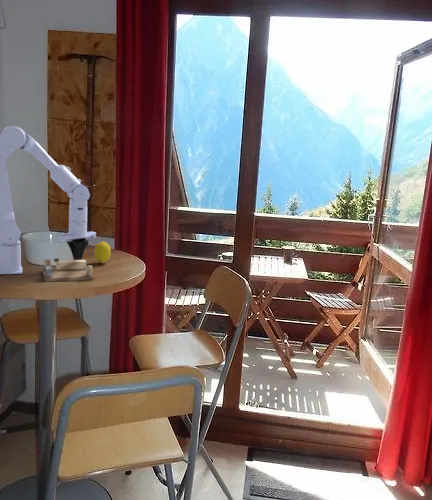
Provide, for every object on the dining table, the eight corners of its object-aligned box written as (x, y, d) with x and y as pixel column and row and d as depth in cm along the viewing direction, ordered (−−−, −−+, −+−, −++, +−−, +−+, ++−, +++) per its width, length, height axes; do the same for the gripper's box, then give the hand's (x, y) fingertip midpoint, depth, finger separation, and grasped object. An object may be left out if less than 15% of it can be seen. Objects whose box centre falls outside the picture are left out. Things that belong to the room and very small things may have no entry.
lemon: (106, 266, 167) (107, 243, 165) (91, 264, 168) (91, 241, 166) (112, 262, 172) (113, 240, 170) (98, 260, 173) (98, 238, 171)
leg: (54, 269, 152) (54, 259, 152) (53, 268, 154) (53, 257, 154) (86, 269, 156) (86, 259, 155) (85, 267, 158) (85, 257, 157)
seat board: (44, 281, 143) (44, 268, 142) (42, 271, 154) (42, 259, 153) (93, 279, 148) (93, 267, 148) (88, 270, 159) (88, 258, 159)
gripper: (85, 217, 166) (85, 256, 169) (51, 220, 154) (51, 262, 157) (100, 220, 163) (100, 259, 166) (67, 223, 151) (66, 266, 153)
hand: (77, 261), depth 161 cm, fingers closed
